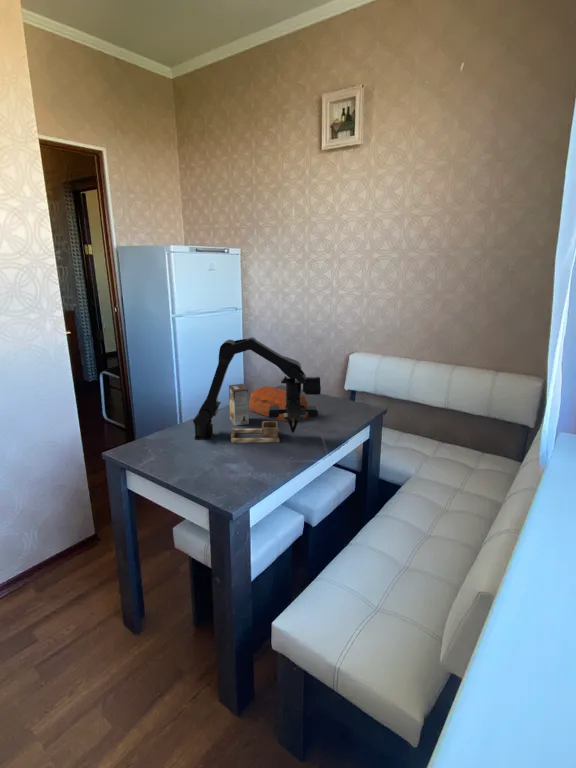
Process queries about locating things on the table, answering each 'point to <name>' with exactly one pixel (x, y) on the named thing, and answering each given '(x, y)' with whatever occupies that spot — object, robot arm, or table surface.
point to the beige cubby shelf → (249, 440)
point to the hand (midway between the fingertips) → (292, 432)
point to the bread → (270, 401)
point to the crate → (269, 429)
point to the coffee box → (238, 404)
